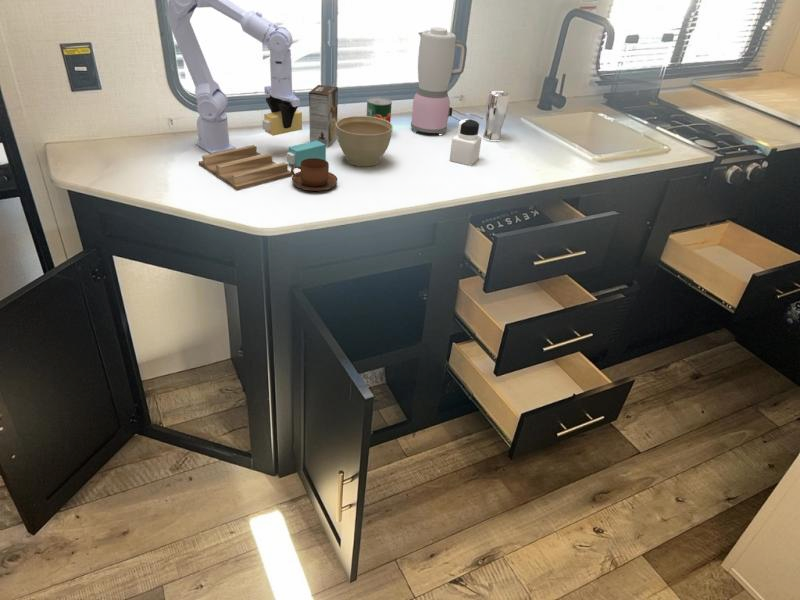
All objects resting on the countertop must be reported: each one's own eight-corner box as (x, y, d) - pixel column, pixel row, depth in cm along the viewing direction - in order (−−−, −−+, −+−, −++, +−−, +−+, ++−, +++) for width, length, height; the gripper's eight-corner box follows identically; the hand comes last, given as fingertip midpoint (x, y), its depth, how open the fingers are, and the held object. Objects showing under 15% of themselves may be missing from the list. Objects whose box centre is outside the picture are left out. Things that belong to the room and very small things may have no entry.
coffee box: (318, 135, 192) (318, 83, 183) (337, 138, 192) (338, 86, 183) (309, 144, 185) (308, 91, 176) (329, 147, 184) (329, 94, 175)
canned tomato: (375, 128, 202) (377, 95, 196) (394, 134, 198) (396, 101, 192) (360, 134, 196) (362, 100, 190) (379, 140, 193) (381, 106, 186)
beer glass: (505, 138, 203) (513, 93, 195) (496, 143, 198) (504, 97, 190) (486, 133, 206) (494, 88, 198) (477, 138, 201) (484, 93, 193)
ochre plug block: (261, 132, 171) (260, 114, 169) (293, 125, 178) (293, 108, 175) (269, 136, 169) (268, 118, 166) (302, 129, 176) (301, 112, 173)
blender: (410, 135, 199) (419, 31, 181) (409, 123, 209) (418, 23, 191) (457, 138, 200) (471, 35, 182) (455, 126, 210) (467, 27, 192)
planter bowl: (352, 147, 186) (353, 112, 180) (399, 159, 181) (402, 123, 175) (324, 163, 174) (325, 126, 168) (374, 176, 169) (376, 138, 162)
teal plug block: (285, 164, 171) (284, 147, 168) (317, 156, 178) (317, 140, 175) (293, 169, 169) (293, 152, 166) (325, 161, 175) (325, 144, 173)
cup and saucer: (298, 197, 154) (298, 174, 151) (286, 178, 163) (286, 156, 160) (343, 192, 159) (343, 170, 155) (329, 174, 168) (329, 153, 164)
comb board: (199, 164, 166) (197, 154, 164) (252, 153, 176) (252, 143, 174) (237, 190, 154) (236, 179, 153) (292, 175, 164) (292, 165, 163)
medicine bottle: (478, 159, 186) (484, 120, 179) (471, 166, 180) (476, 126, 174) (457, 153, 188) (462, 115, 181) (448, 161, 183) (453, 121, 176)
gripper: (308, 81, 164) (309, 130, 171) (278, 68, 172) (280, 115, 179) (287, 84, 159) (288, 134, 167) (257, 71, 168) (259, 119, 175)
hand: (282, 125), depth 173 cm, fingers closed on ochre plug block, 4 cm apart
